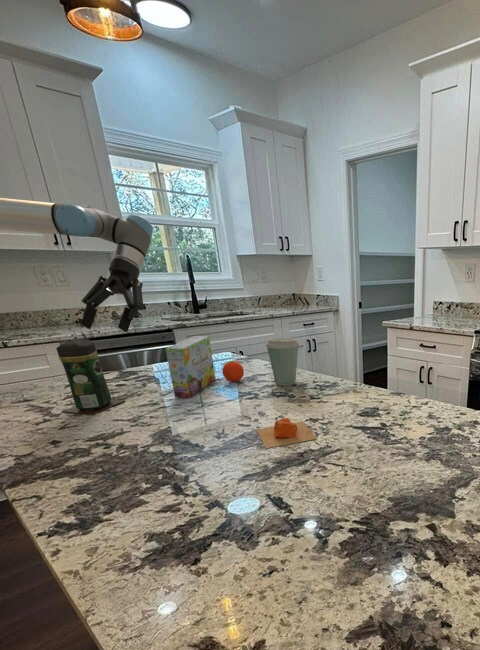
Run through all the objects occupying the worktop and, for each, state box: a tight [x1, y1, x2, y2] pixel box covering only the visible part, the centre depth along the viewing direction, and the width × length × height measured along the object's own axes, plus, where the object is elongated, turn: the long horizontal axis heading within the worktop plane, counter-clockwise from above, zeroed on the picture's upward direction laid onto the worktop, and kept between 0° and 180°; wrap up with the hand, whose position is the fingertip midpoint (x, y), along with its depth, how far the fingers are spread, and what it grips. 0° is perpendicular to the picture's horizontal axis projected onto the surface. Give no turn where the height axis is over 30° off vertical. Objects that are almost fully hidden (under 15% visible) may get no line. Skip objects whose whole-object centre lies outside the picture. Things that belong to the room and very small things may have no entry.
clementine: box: [221, 360, 245, 383], centre depth 142 cm, size 8×7×7 cm
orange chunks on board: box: [256, 417, 318, 449], centre depth 100 cm, size 12×12×4 cm
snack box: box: [165, 335, 217, 399], centre depth 133 cm, size 21×6×15 cm, turn 1°
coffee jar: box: [55, 338, 112, 410], centre depth 116 cm, size 10×8×19 cm
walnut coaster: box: [61, 398, 126, 416], centre depth 120 cm, size 10×12×1 cm
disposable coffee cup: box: [265, 337, 300, 387], centre depth 137 cm, size 11×11×15 cm
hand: (103, 328), depth 122 cm, fingers open, 13 cm apart
